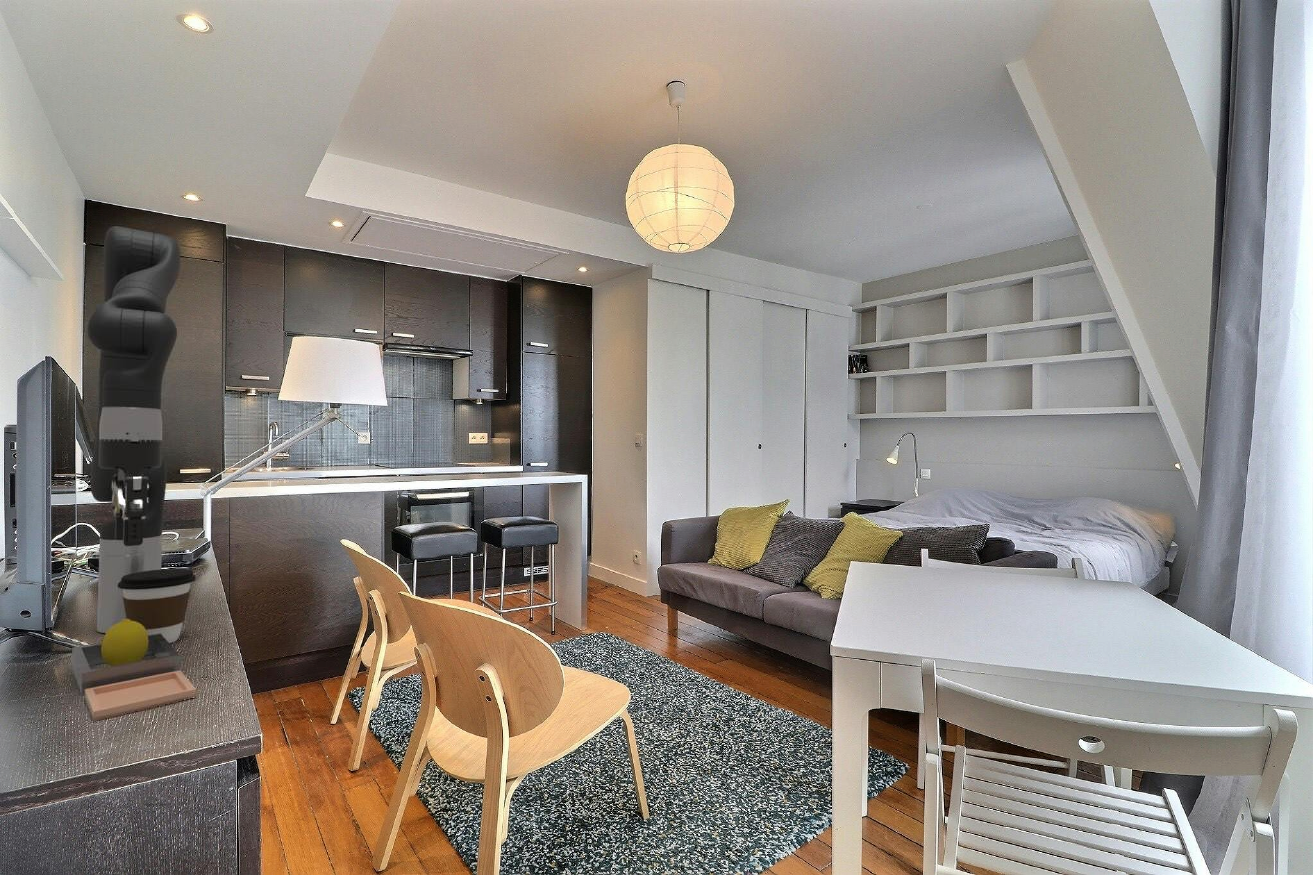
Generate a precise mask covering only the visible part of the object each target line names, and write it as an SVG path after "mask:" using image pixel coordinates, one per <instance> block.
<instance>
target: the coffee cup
mask: <svg viewBox="0 0 1313 875" xmlns="http://www.w3.org/2000/svg"><path fill="white" fill-rule="evenodd" d="M196 579H197V578H196V574H194V571H193V570H191V569H187V568H161V570H151V571H143V572H137V573H131V574H128V575H125V576H123V577H122V578H121V581H120V582H119V583H118V588H121V589H123V594H124V597H123V602H124V607H125V613H126V619H129V620H131V621H135V622H138V623H140V624H141V625H143V626H144V628H145V629H146V632H147V635H154V634H160V633H161V634H162V636H163V637H164V638H165V639H166V640H167V641H168V642H169V643H170V644H171V643H175V642H177V640H178V639H179V637H180V636H181V632H182V627H183V623H184V622H185V619H186V613H187V609H188V604H189V598H190V595H191V594H190V593H191V588H190V587H191V584H192V583H193V582H195V581H196Z"/></svg>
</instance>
